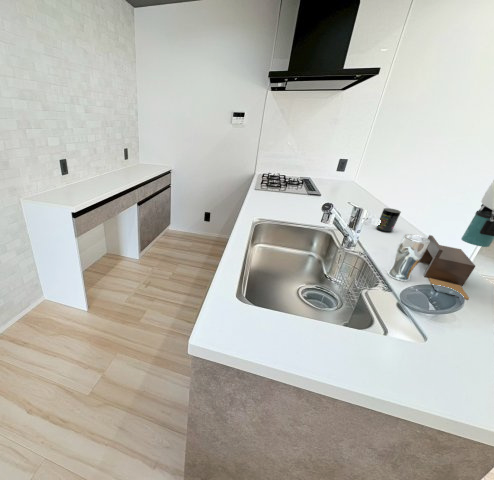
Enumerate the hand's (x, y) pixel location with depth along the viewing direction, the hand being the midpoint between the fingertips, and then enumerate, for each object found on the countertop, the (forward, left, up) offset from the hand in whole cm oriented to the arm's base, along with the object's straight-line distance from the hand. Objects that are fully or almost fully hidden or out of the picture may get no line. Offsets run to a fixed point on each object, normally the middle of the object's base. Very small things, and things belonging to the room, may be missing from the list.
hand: (482, 230), depth 76 cm
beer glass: (+13, 0, -21) cm, 25 cm away
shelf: (0, -12, -21) cm, 24 cm away
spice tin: (0, 0, -4) cm, 4 cm away
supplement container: (+13, -49, -21) cm, 55 cm away
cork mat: (0, 0, -21) cm, 21 cm away
